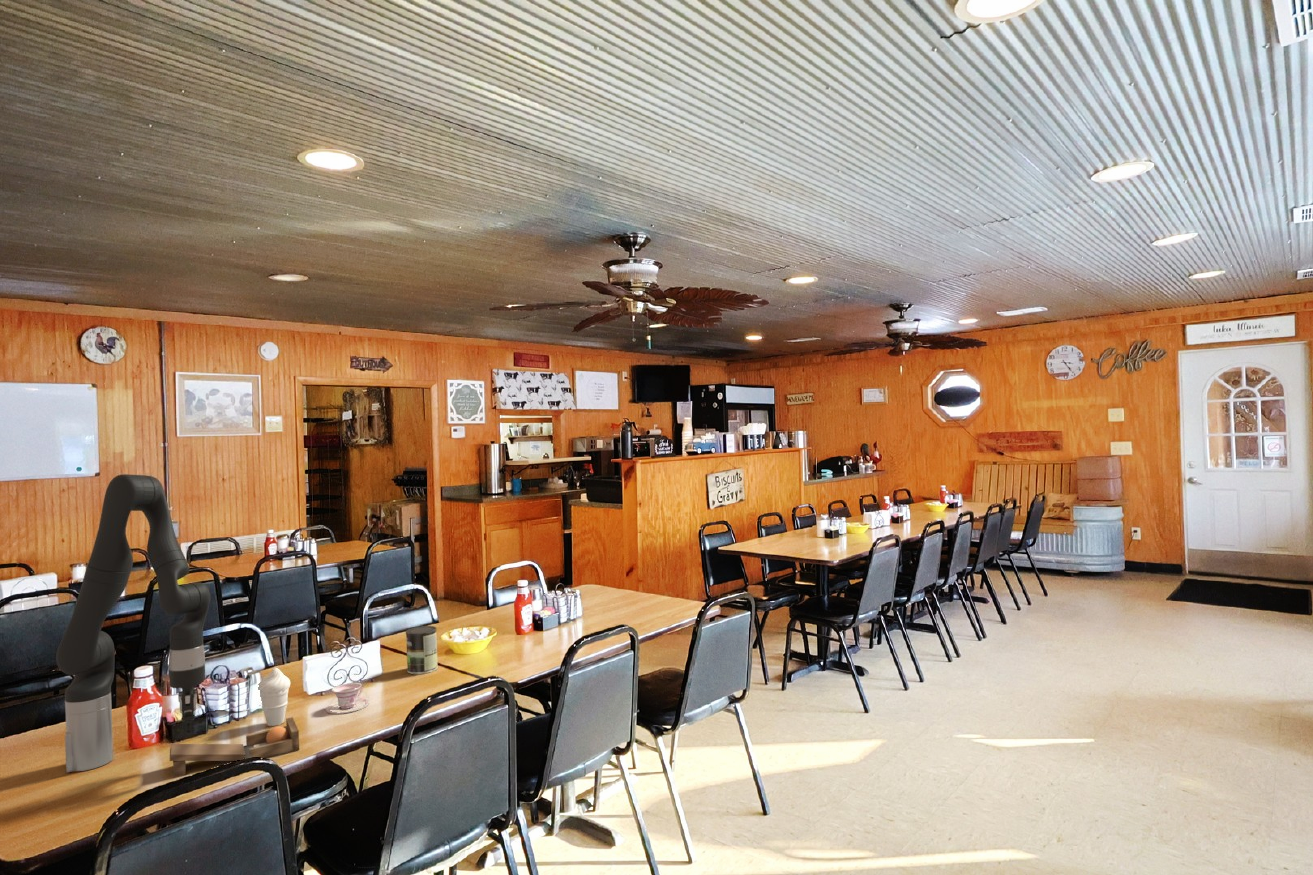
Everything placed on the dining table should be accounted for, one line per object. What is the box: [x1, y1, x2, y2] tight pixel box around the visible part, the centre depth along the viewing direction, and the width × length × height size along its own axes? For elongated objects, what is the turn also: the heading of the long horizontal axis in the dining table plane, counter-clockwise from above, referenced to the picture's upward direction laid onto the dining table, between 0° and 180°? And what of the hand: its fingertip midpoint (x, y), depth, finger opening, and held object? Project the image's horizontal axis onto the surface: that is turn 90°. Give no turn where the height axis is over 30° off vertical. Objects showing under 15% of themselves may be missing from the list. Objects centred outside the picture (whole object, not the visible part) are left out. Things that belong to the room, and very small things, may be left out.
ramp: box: [169, 743, 246, 778], centre depth 183 cm, size 16×8×6 cm, turn 123°
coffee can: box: [405, 625, 439, 675], centre depth 254 cm, size 10×10×14 cm
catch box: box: [243, 716, 300, 759], centre depth 190 cm, size 12×12×5 cm
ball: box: [266, 725, 288, 744], centre depth 191 cm, size 5×5×5 cm
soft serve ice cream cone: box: [258, 667, 291, 727], centre depth 208 cm, size 8×8×16 cm
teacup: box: [325, 682, 370, 715], centre depth 219 cm, size 12×12×6 cm
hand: (188, 730), depth 180 cm, fingers open, 8 cm apart
